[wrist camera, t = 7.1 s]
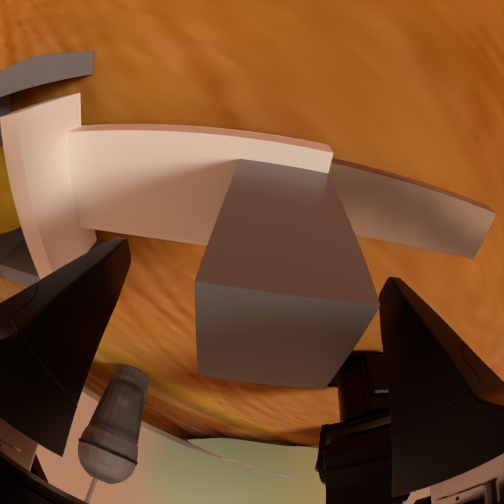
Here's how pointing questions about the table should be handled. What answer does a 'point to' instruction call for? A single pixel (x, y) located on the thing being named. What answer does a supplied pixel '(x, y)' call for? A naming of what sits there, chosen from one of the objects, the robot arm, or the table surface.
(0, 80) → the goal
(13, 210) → the lemon
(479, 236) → the rail
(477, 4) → the table surface
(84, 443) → the beverage cup
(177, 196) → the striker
